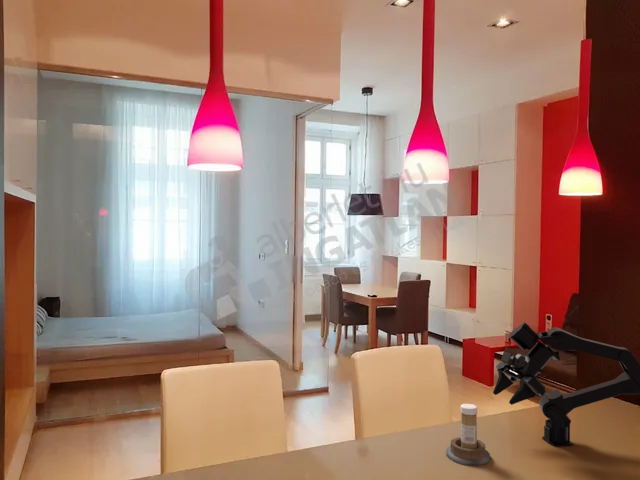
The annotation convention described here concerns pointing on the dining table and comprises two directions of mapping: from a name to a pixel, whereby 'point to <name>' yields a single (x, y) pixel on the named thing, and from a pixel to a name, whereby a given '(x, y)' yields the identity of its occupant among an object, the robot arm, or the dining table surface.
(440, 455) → the dining table surface
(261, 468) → the dining table surface
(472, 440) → the sprinkles bottle
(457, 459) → the collar socket
